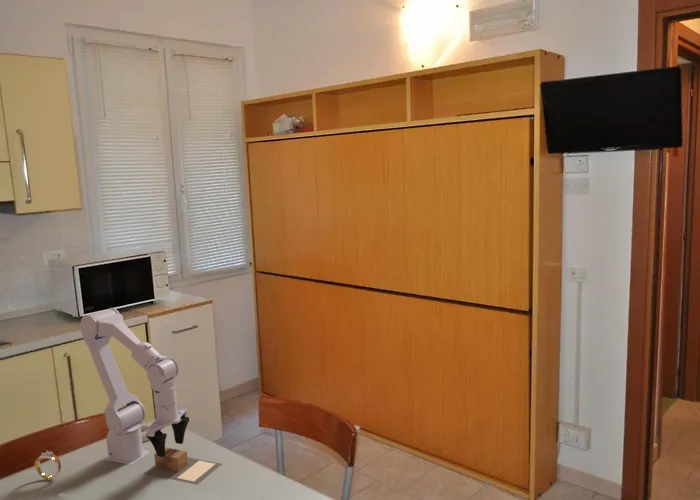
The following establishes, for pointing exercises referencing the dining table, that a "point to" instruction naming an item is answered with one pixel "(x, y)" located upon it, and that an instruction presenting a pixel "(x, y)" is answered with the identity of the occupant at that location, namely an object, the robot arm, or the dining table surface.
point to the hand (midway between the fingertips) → (170, 449)
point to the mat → (187, 471)
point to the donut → (144, 431)
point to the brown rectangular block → (172, 460)
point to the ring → (52, 457)
